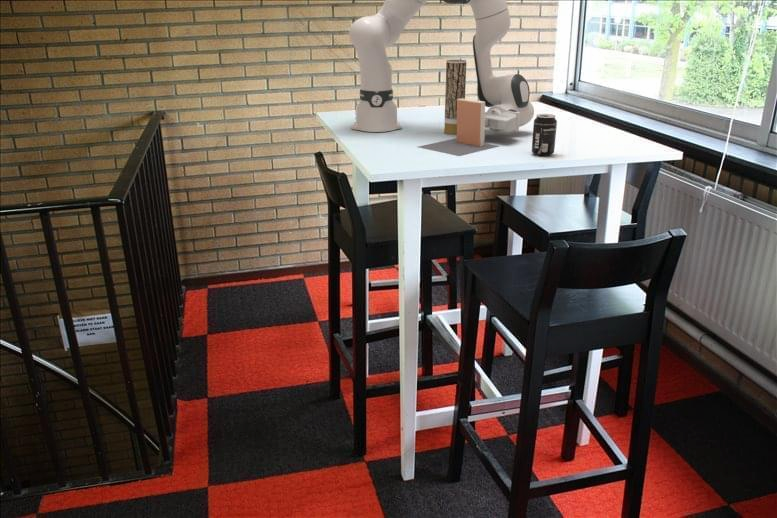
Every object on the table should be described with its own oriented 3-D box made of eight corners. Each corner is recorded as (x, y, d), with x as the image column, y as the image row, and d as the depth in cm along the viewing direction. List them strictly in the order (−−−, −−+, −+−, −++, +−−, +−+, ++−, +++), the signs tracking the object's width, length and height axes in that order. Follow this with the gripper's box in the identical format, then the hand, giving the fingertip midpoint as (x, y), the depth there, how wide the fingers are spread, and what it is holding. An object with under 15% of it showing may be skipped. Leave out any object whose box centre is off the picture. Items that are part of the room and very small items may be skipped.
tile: (460, 140, 220) (461, 98, 215) (484, 145, 214) (485, 101, 208) (456, 142, 219) (456, 99, 213) (479, 146, 212) (480, 102, 206)
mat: (457, 139, 225) (457, 137, 225) (499, 147, 213) (500, 146, 213) (416, 148, 212) (416, 146, 212) (459, 157, 200) (459, 156, 200)
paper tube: (441, 135, 231) (443, 61, 222) (447, 131, 237) (449, 59, 228) (460, 136, 229) (463, 61, 220) (465, 132, 235) (468, 59, 225)
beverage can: (531, 151, 207) (534, 113, 203) (553, 152, 206) (557, 113, 201) (531, 156, 201) (534, 117, 196) (554, 157, 200) (557, 117, 195)
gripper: (475, 105, 229) (448, 109, 220) (524, 112, 215) (498, 117, 207) (474, 123, 231) (448, 128, 223) (522, 131, 218) (496, 137, 209)
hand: (472, 123), depth 214 cm, fingers closed
